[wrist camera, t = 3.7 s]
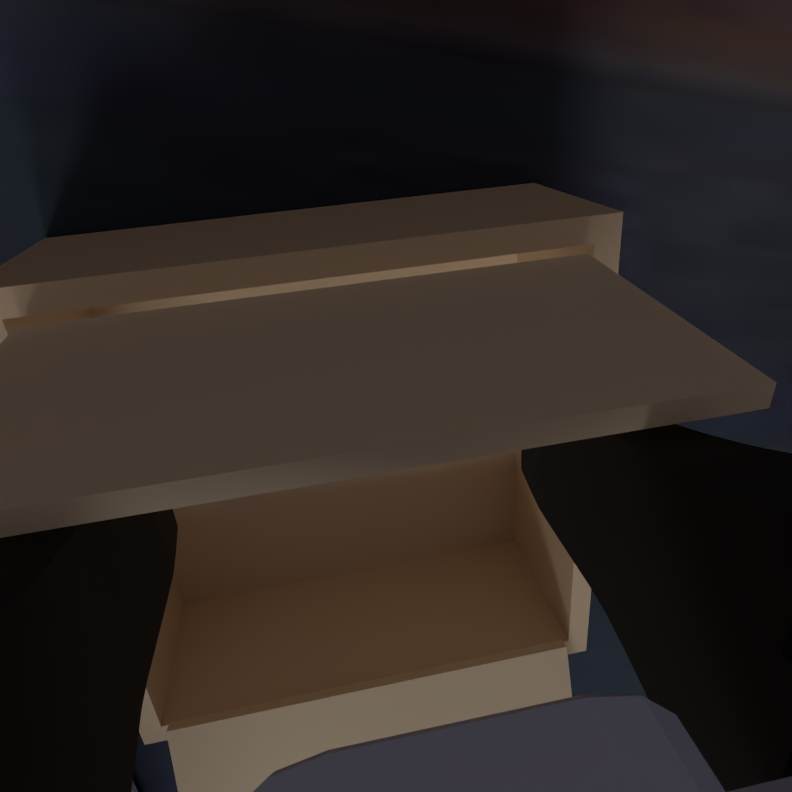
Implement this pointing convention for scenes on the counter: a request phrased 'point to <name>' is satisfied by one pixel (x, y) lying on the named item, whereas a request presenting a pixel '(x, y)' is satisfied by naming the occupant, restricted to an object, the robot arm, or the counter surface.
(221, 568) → the cardboard box
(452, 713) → the flap
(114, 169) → the counter surface
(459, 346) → the flap
